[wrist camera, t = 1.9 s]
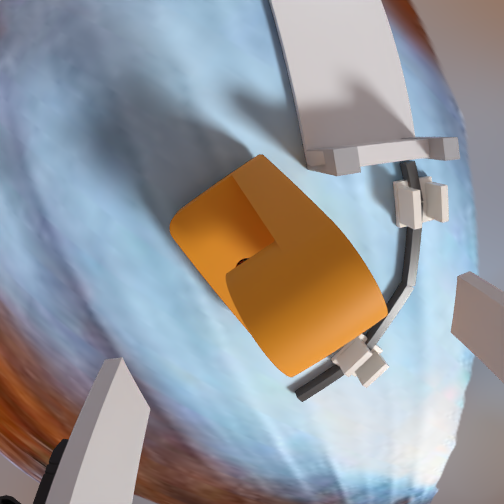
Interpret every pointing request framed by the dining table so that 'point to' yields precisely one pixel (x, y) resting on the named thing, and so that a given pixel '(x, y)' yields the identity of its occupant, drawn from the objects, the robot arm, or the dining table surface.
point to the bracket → (279, 265)
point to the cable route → (365, 347)
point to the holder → (349, 86)
